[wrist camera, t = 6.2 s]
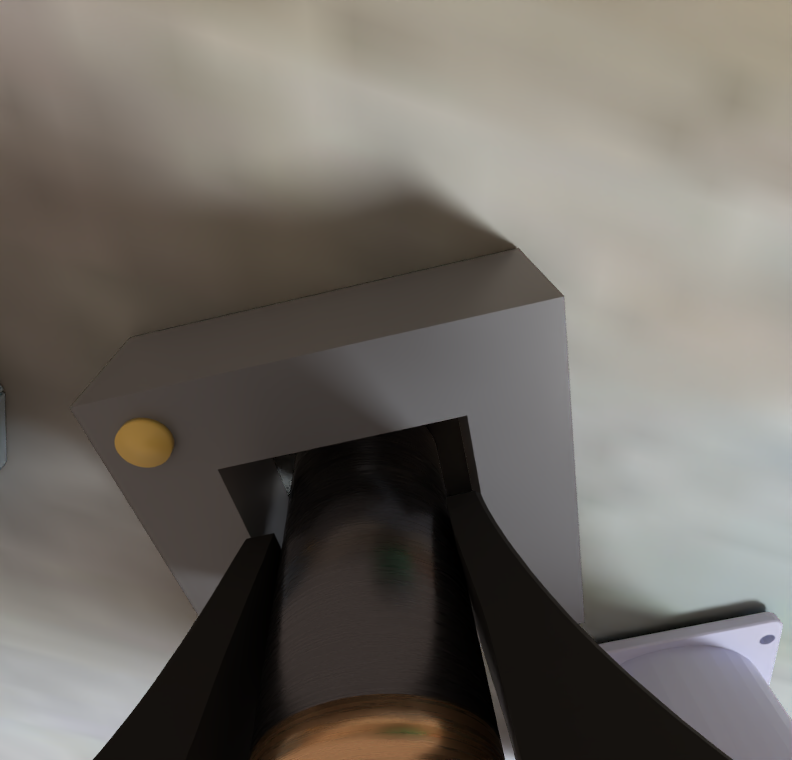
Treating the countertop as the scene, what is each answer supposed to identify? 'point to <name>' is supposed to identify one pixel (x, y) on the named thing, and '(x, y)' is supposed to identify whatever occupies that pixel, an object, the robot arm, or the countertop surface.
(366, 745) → the battery cell
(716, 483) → the countertop surface
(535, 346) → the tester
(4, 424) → the grey round bowl
